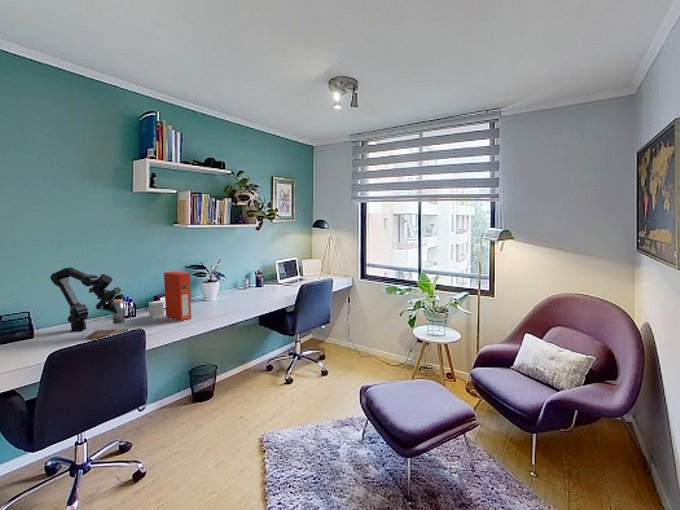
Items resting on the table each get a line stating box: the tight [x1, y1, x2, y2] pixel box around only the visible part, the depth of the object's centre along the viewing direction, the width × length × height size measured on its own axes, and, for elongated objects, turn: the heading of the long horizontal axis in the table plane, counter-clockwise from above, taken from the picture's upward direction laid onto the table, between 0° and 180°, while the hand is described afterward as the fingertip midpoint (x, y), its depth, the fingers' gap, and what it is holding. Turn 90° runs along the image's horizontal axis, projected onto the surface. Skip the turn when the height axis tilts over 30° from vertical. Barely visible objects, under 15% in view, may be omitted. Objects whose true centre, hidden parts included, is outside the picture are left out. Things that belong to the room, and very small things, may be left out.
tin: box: [112, 301, 126, 325], centre depth 216 cm, size 6×6×12 cm
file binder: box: [163, 270, 192, 322], centre depth 249 cm, size 8×17×32 cm, turn 58°
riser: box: [86, 328, 130, 340], centre depth 213 cm, size 18×11×2 cm, turn 102°
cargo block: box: [112, 298, 124, 304], centre depth 215 cm, size 4×4×2 cm
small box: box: [148, 300, 165, 319], centre depth 254 cm, size 8×6×10 cm
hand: (120, 311), depth 216 cm, fingers closed on tin, 6 cm apart
